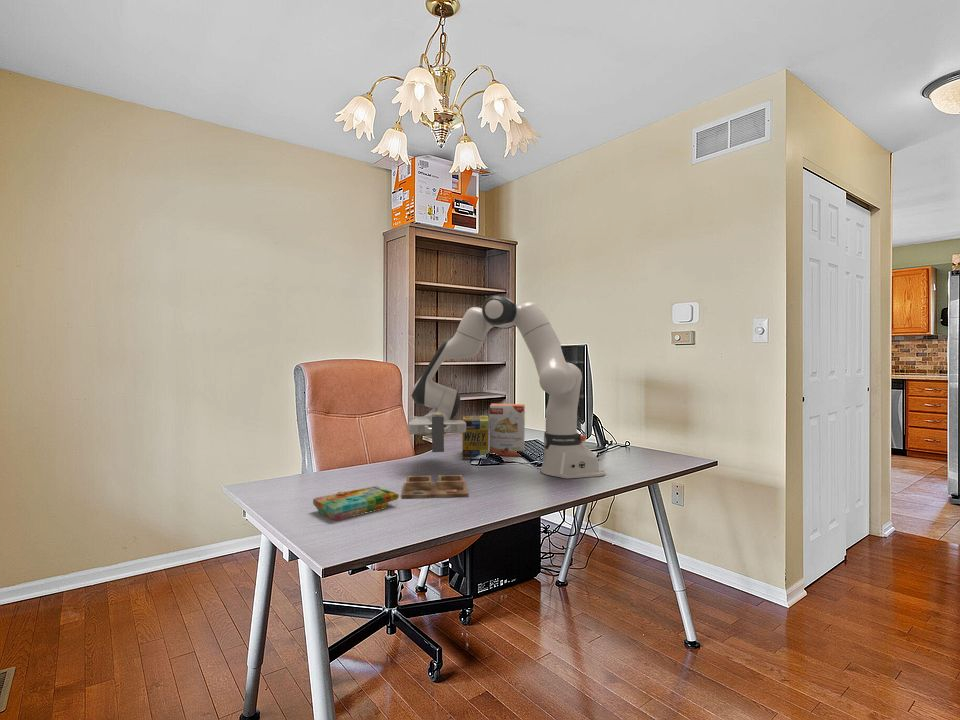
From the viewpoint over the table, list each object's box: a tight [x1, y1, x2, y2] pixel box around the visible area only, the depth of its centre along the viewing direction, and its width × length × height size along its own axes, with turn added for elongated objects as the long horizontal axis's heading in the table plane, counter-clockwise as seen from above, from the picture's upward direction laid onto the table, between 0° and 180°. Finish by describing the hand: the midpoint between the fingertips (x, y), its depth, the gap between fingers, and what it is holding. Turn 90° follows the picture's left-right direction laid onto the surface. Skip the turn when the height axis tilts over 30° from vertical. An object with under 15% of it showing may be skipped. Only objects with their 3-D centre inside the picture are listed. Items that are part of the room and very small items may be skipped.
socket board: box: [400, 474, 470, 499], centre depth 167 cm, size 20×14×4 cm
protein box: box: [461, 414, 490, 460], centre depth 218 cm, size 10×15×16 cm
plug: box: [431, 413, 445, 453], centre depth 183 cm, size 4×4×13 cm
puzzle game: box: [312, 485, 400, 521], centre depth 149 cm, size 12×5×20 cm
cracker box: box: [488, 403, 526, 458], centre depth 219 cm, size 14×6×21 cm, turn 81°
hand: (437, 430), depth 182 cm, fingers closed on plug, 4 cm apart
